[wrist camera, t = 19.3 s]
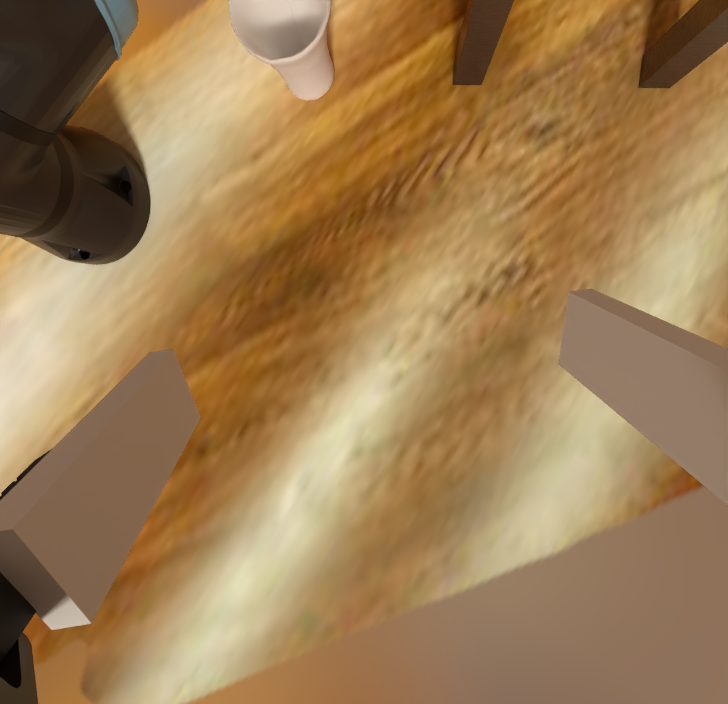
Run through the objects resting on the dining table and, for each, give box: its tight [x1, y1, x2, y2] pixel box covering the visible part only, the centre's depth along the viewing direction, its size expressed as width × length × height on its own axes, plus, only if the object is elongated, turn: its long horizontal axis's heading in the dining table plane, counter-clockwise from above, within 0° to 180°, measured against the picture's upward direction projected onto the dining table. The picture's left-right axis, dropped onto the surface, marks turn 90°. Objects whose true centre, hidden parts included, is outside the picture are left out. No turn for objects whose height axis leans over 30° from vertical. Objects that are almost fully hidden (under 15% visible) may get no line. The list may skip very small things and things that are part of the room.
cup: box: [229, 0, 334, 100], centre depth 35 cm, size 9×9×10 cm
